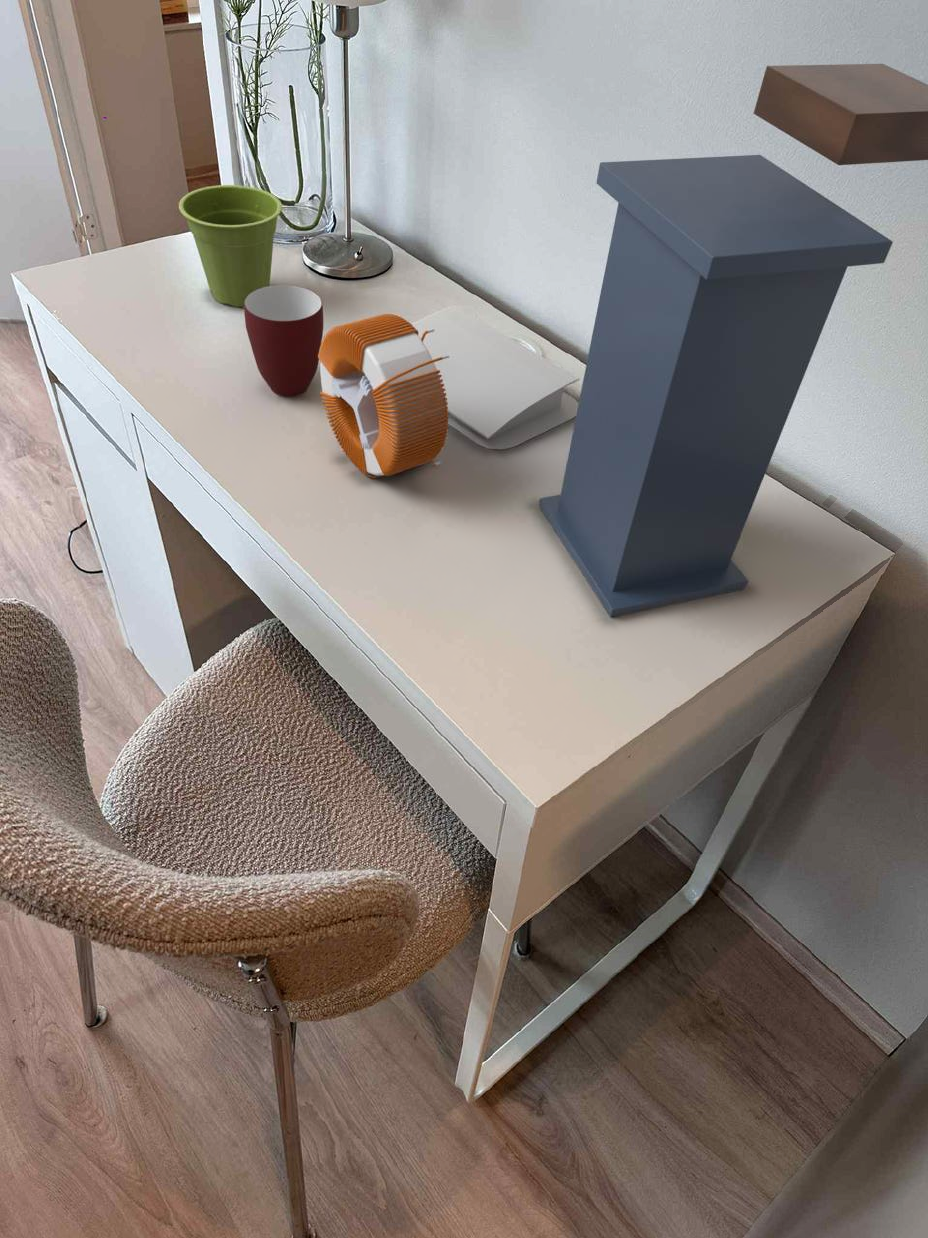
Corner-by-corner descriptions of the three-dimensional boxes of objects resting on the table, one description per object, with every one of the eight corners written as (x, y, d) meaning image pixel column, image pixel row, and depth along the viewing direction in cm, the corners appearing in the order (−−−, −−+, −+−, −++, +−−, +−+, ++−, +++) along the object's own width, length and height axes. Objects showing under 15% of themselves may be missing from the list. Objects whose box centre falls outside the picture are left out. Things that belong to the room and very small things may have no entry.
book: (454, 326, 112) (457, 296, 109) (590, 409, 101) (597, 378, 98) (358, 362, 104) (358, 331, 101) (494, 456, 93) (498, 424, 90)
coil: (394, 509, 85) (398, 372, 75) (316, 431, 93) (309, 297, 83) (452, 487, 89) (464, 352, 78) (372, 413, 97) (372, 281, 86)
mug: (229, 369, 100) (218, 284, 93) (292, 352, 104) (287, 269, 97) (274, 415, 95) (266, 328, 88) (339, 395, 99) (337, 310, 91)
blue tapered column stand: (661, 484, 92) (760, 154, 69) (745, 588, 82) (893, 241, 59) (538, 505, 88) (599, 161, 65) (610, 617, 77) (712, 256, 55)
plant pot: (172, 295, 111) (156, 202, 103) (240, 265, 118) (231, 176, 110) (239, 327, 107) (229, 234, 99) (307, 294, 114) (302, 205, 106)
